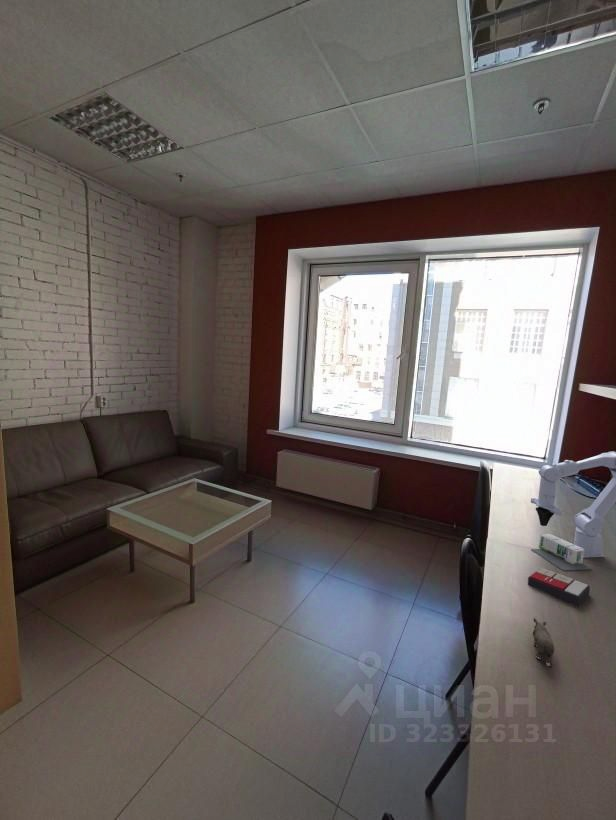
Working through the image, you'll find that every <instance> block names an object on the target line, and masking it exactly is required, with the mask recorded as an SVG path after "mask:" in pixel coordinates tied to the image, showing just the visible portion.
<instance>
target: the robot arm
mask: <svg viewBox="0 0 616 820" xmlns="http://www.w3.org/2000/svg"><path fill="white" fill-rule="evenodd" d="M597 467H606V468H608V469H609V471H610V472H611V475H612V478H611V479H610V481H609V482H608V483H607V485H606V486H605V487H604V488H603V489H602V491H601V492H600V493H599V495H598V496H597V497H596V499H595V500H594V501H593V502H592V503H591V505H590V506H589V507H588V508H583V509H582V510H581V511H580V512H578V513H576V514H575V515H574V517H573V523H574V525H576V527H575V533H574V541H573V544H574V545H576V546H578V547H581V548H583V549H584V555H583V559H584V558H604V557H605V556H604V555H603V549H604V537H603V536H602V534H601V533H602V531H603V526H604V525H605V523H606V522H605V521H606V520H605V516H606V514H608V512H609V511H610V509H611V508H612V507H613V506H614V504H615V503H616V451H615V450H614V451H608V452H602V453H600V454H598V455H595V456H592V457H589V458H588V457H587V458H584V459H582V460H578V461H574V460H569V459H564V461H563V462H559V463H551V465H550V464H549V465H548V464H545V465H543V466H541V467H540V469H539V470H538V474H539V476H540V482H539V489H538V498H530V503H531V504H534V505H535V506H536V507H535V511H536V513H537V516H538V520H539V524H540V526H542V527H548V524H549V522H550V520H551V518H552V517H553V516H554V515H556V516H557V517H558V516H559V517H561V516H562V515H563V514H562V513H563V510H561V509H559V508H558V507H557V506H555V500H556V492H557V491H556V490H557V483H558V481H559V480H560V479H562V478H566V477H569V476H573V475H577V474H578V473H579V471H582V470H587V469H593V468H597Z"/></svg>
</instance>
